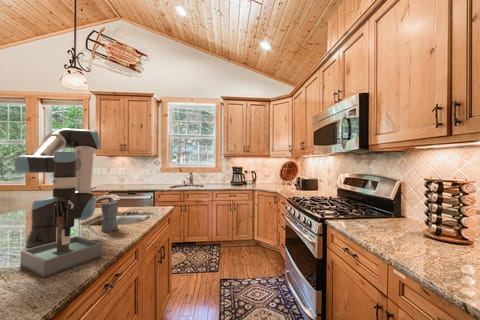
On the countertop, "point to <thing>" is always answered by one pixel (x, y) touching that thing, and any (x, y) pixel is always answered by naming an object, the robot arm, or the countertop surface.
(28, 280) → the countertop surface
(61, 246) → the walnut peg
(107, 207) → the moka pot
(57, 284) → the countertop surface
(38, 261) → the bore box
